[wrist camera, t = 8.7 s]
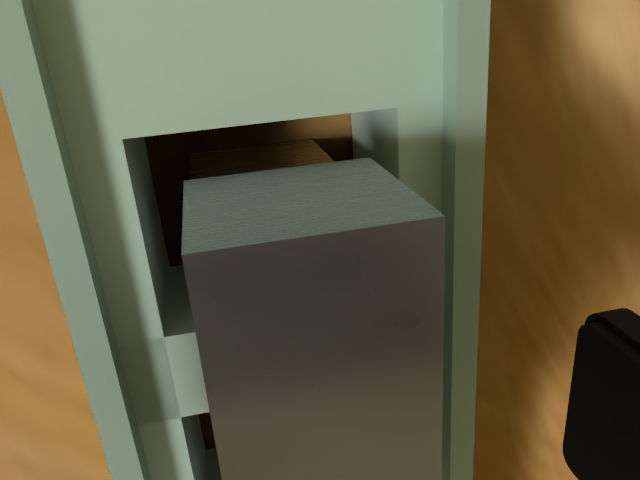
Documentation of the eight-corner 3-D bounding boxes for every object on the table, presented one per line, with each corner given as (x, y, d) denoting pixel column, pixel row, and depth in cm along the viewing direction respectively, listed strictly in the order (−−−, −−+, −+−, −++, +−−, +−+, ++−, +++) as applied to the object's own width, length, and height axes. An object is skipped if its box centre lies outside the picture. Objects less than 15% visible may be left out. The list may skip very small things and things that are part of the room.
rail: (-10, -211, 10) (-121, -339, 7) (403, -217, 12) (502, -326, 8) (187, 599, 19) (186, 743, 15) (415, 541, 20) (466, 661, 16)
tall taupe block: (185, 124, 13) (180, 255, 6) (310, 111, 14) (445, 215, 7) (234, 428, 17) (269, 745, 9) (332, 408, 17) (437, 695, 10)
